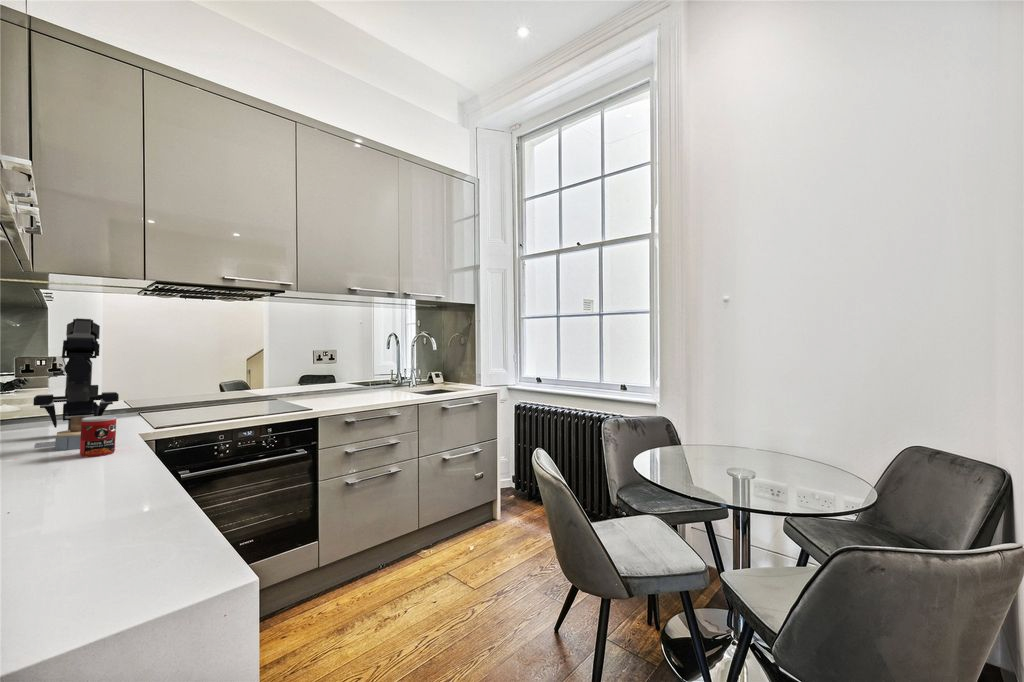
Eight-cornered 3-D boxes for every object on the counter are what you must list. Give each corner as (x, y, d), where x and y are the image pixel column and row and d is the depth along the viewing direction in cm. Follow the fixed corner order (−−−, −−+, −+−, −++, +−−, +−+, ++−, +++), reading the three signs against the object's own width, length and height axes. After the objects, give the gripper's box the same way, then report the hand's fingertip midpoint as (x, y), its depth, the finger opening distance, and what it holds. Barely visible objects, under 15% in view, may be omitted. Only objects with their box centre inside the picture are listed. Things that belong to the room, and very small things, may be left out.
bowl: (55, 448, 135) (56, 434, 135) (95, 444, 142) (95, 430, 142) (54, 453, 129) (55, 438, 129) (96, 449, 136) (96, 434, 136)
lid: (56, 434, 135) (57, 416, 136) (94, 431, 142) (95, 414, 142) (56, 438, 129) (57, 419, 130) (95, 434, 136) (96, 417, 136)
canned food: (82, 458, 123) (84, 420, 124) (77, 454, 128) (78, 417, 129) (117, 454, 130) (119, 417, 130) (111, 450, 134) (113, 414, 135)
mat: (35, 444, 140) (36, 442, 140) (71, 441, 146) (71, 439, 146) (34, 449, 133) (34, 447, 133) (71, 446, 139) (71, 444, 139)
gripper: (33, 378, 124) (31, 433, 123) (120, 376, 137) (118, 425, 137) (35, 376, 132) (33, 427, 131) (118, 375, 145) (116, 421, 145)
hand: (76, 425), depth 136 cm, fingers open, 9 cm apart
